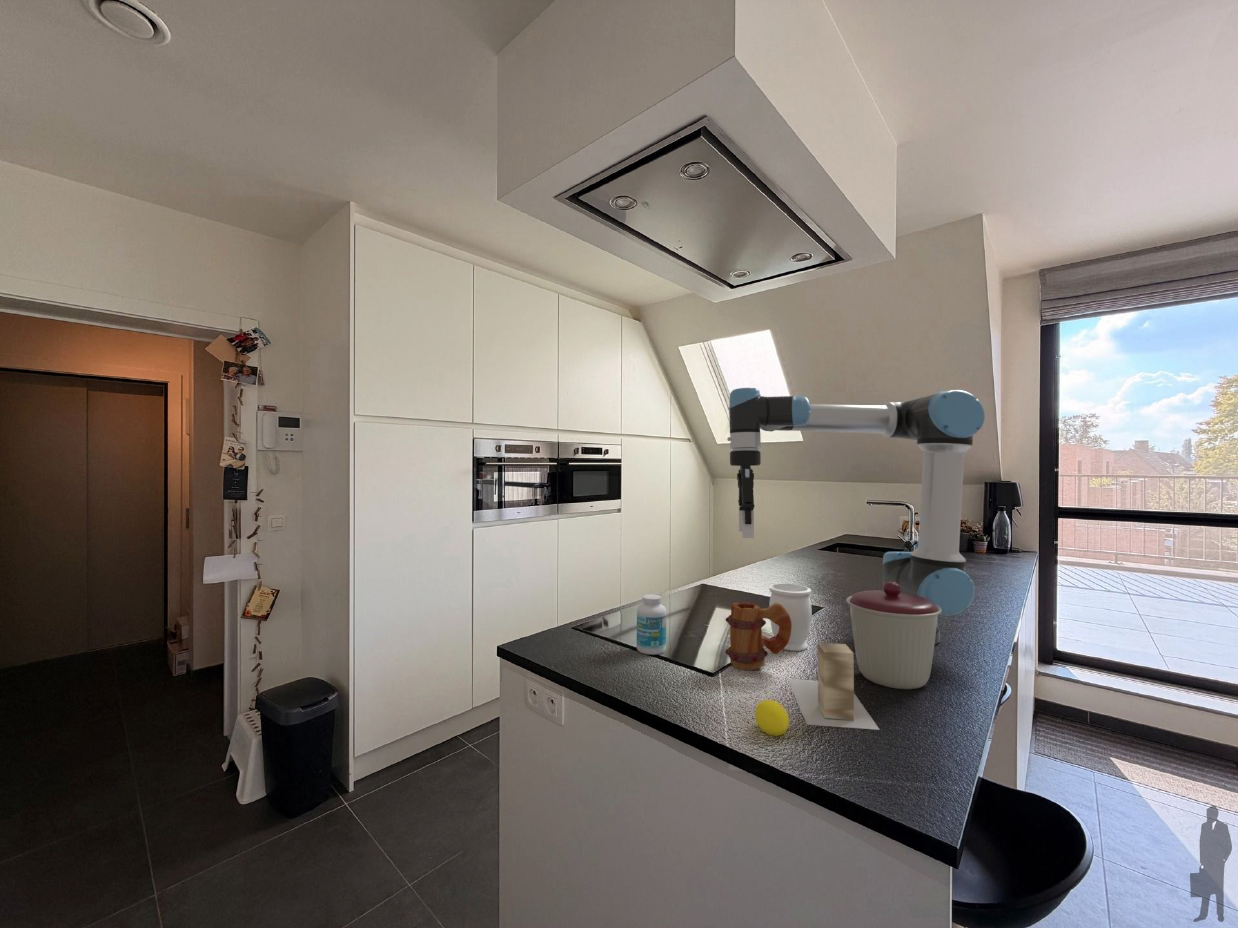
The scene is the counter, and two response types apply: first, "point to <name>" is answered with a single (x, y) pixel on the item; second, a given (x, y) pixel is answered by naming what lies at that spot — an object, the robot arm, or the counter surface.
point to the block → (836, 681)
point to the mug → (755, 634)
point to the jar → (793, 612)
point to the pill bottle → (651, 626)
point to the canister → (894, 636)
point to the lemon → (772, 717)
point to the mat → (809, 707)
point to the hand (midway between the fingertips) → (746, 534)
